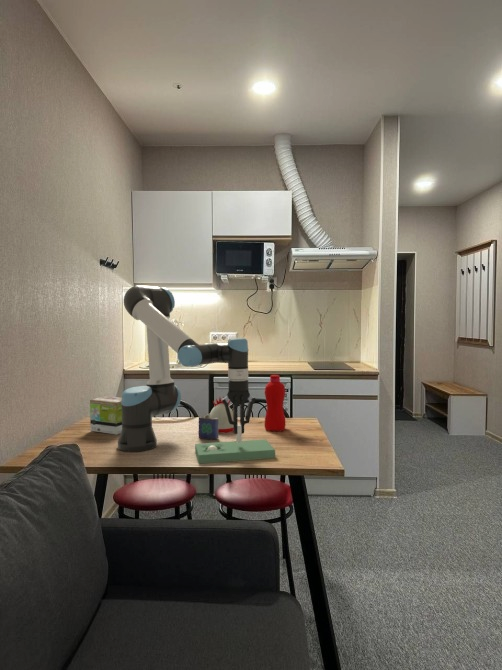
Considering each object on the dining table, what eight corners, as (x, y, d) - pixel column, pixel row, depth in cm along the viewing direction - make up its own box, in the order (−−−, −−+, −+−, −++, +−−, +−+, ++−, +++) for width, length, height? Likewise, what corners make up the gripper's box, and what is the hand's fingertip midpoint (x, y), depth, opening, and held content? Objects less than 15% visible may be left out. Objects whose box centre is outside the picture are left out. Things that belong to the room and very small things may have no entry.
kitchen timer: (235, 432, 197) (235, 399, 197) (205, 432, 198) (204, 399, 197) (237, 425, 211) (237, 393, 210) (208, 425, 211) (208, 393, 211)
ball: (209, 459, 162) (206, 449, 162) (208, 456, 166) (204, 446, 166) (219, 455, 163) (216, 445, 162) (218, 452, 167) (214, 442, 166)
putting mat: (198, 463, 156) (198, 455, 156) (195, 451, 170) (195, 443, 170) (275, 457, 162) (275, 449, 162) (265, 446, 176) (265, 439, 176)
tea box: (89, 431, 200) (88, 399, 199) (104, 426, 209) (104, 395, 208) (116, 435, 194) (116, 401, 193) (131, 429, 203) (130, 397, 203)
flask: (219, 438, 188) (219, 413, 187) (216, 440, 185) (216, 415, 184) (200, 436, 191) (199, 412, 191) (196, 438, 188) (196, 413, 188)
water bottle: (286, 426, 208) (286, 373, 207) (284, 432, 197) (284, 376, 196) (267, 425, 210) (266, 373, 209) (263, 431, 199) (263, 376, 198)
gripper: (222, 381, 160) (223, 446, 161) (257, 380, 163) (258, 443, 164) (219, 378, 167) (220, 440, 168) (253, 377, 170) (253, 438, 171)
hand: (239, 442), depth 166 cm, fingers closed
